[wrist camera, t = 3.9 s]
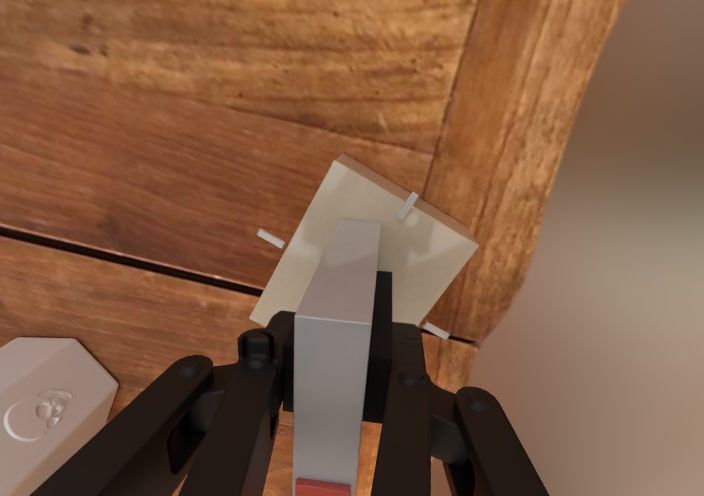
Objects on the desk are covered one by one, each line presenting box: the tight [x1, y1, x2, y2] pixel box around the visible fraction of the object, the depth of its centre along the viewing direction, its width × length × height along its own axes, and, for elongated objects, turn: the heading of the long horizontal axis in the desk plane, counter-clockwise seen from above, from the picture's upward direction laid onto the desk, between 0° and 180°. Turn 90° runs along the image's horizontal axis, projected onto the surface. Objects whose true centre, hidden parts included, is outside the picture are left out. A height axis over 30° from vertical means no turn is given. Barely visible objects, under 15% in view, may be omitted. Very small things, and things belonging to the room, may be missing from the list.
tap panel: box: [249, 153, 479, 340], centre depth 20 cm, size 11×11×3 cm
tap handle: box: [292, 219, 381, 496], centre depth 15 cm, size 7×2×9 cm, turn 176°
